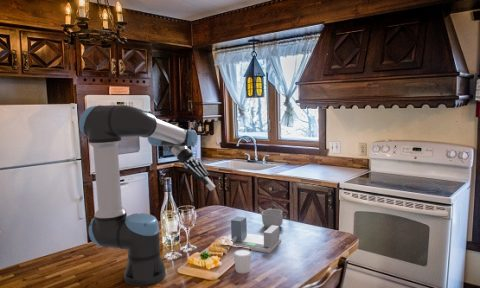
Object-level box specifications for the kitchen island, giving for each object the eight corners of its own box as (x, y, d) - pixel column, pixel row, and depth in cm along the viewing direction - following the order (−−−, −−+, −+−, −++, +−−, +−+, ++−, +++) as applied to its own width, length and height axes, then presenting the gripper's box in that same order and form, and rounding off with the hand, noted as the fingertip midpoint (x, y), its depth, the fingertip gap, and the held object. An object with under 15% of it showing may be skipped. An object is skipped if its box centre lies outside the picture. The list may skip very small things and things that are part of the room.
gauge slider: (227, 242, 167) (226, 222, 166) (237, 234, 176) (236, 216, 175) (237, 243, 165) (236, 224, 164) (246, 236, 174) (246, 217, 173)
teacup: (283, 230, 186) (283, 214, 185) (262, 230, 186) (261, 215, 185) (281, 221, 199) (281, 206, 199) (261, 221, 200) (260, 207, 199)
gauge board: (220, 244, 169) (220, 227, 168) (234, 234, 181) (234, 218, 180) (269, 252, 158) (269, 234, 157) (280, 241, 171) (280, 224, 170)
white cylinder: (241, 264, 148) (241, 247, 147) (255, 269, 144) (254, 251, 143) (230, 270, 143) (229, 253, 142) (244, 275, 138) (243, 257, 137)
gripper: (185, 155, 188) (215, 190, 183) (169, 159, 176) (200, 197, 171) (194, 145, 185) (224, 180, 180) (178, 149, 173) (210, 186, 168)
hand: (213, 188), depth 175 cm, fingers closed
